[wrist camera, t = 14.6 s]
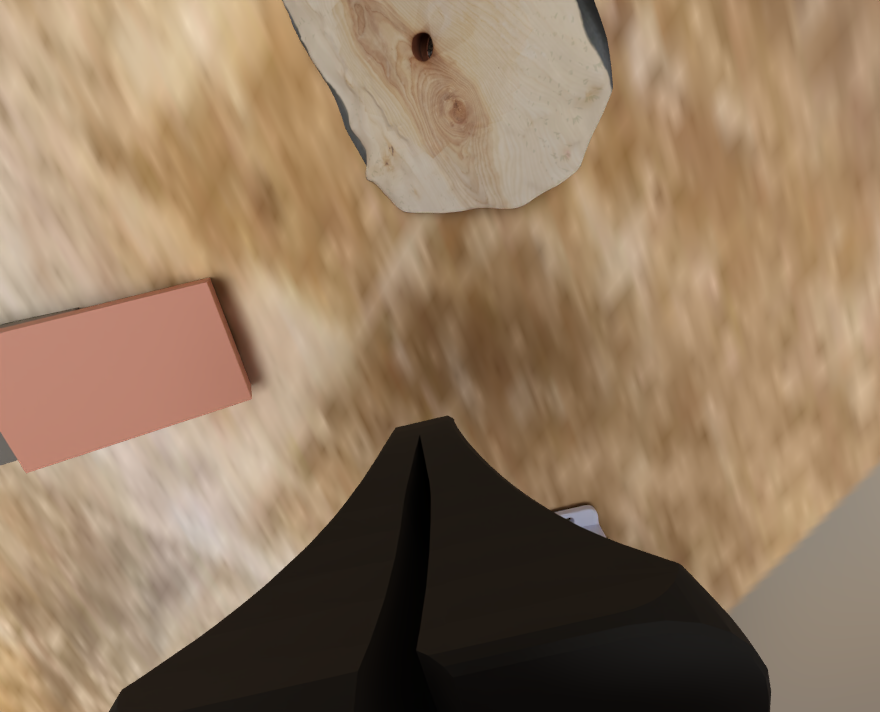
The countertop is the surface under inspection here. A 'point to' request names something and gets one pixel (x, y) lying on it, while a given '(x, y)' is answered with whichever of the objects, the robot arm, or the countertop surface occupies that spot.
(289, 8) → the wooden slab
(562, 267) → the countertop surface
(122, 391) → the loose domino
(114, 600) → the countertop surface
